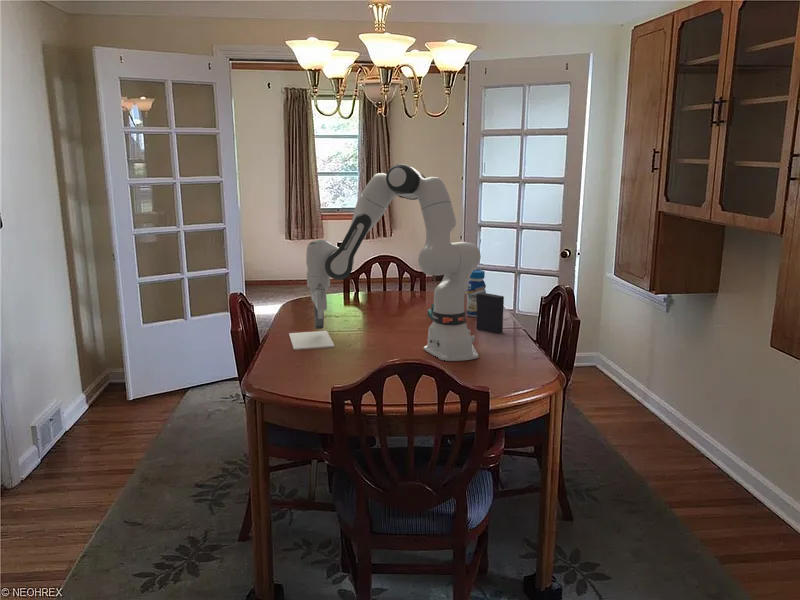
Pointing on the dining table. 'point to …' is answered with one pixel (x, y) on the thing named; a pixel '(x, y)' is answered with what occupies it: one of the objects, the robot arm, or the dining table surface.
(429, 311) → the bracket
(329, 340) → the paper
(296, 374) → the dining table surface
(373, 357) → the dining table surface
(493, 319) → the upright charcoal panel
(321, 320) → the marker
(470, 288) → the beverage bottle
